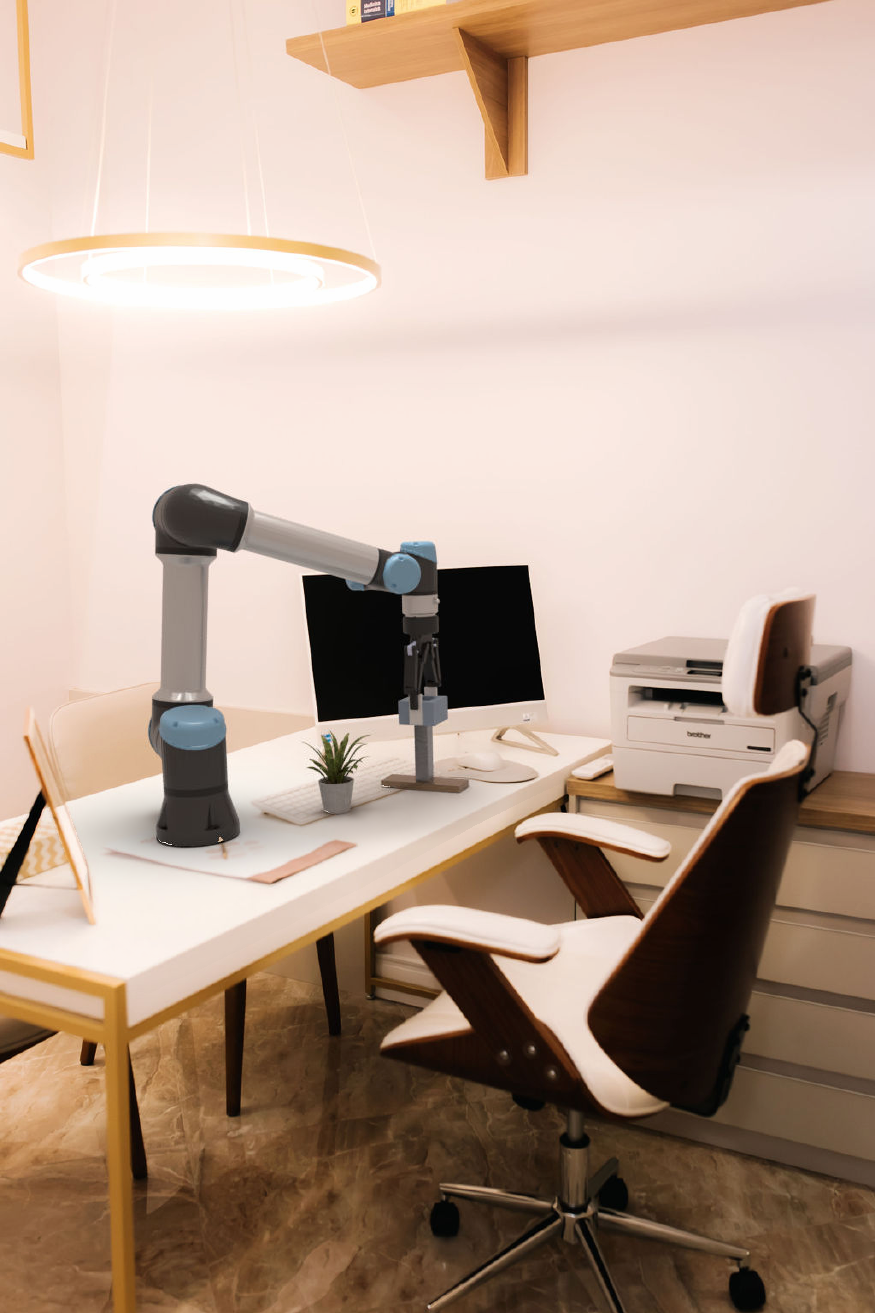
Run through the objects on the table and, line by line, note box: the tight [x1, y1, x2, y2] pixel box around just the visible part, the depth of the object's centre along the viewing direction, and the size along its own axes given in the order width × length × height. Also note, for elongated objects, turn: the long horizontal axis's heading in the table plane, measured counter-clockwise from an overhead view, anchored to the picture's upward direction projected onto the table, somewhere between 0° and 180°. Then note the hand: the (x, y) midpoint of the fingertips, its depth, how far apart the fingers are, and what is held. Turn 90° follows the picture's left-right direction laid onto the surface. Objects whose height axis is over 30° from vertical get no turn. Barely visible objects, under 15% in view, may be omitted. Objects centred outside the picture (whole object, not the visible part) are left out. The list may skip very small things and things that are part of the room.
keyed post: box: [380, 725, 470, 794], centre depth 224 cm, size 6×18×14 cm, turn 69°
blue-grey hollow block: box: [398, 694, 449, 727], centre depth 223 cm, size 8×8×5 cm
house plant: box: [302, 729, 371, 815], centre depth 207 cm, size 14×14×16 cm
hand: (424, 720), depth 223 cm, fingers closed on blue-grey hollow block, 8 cm apart
